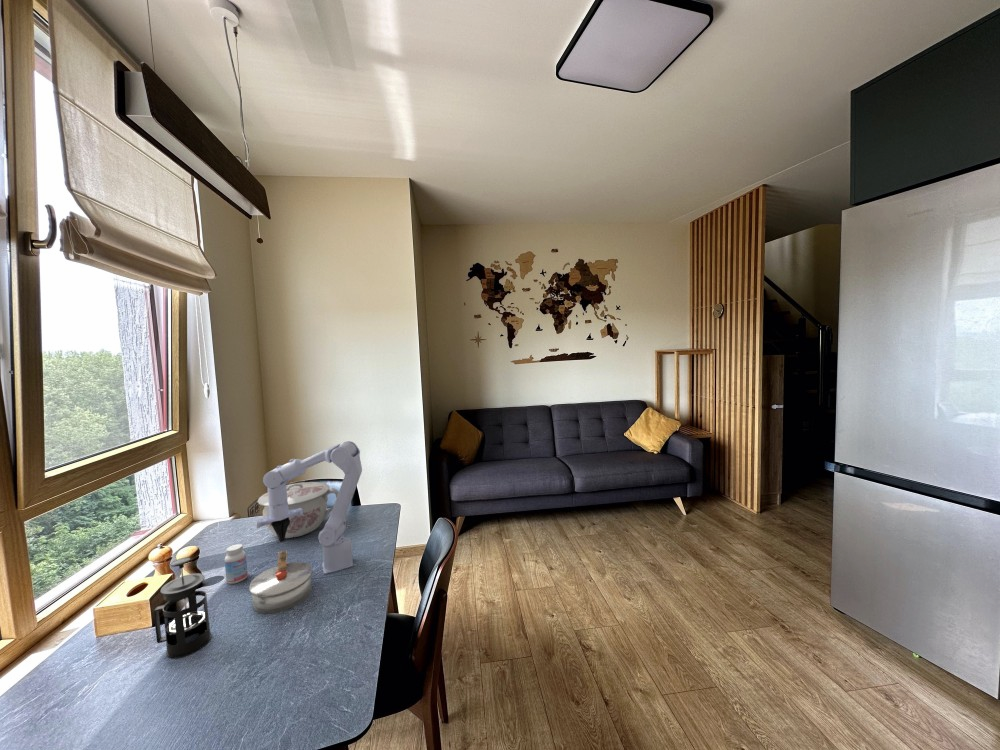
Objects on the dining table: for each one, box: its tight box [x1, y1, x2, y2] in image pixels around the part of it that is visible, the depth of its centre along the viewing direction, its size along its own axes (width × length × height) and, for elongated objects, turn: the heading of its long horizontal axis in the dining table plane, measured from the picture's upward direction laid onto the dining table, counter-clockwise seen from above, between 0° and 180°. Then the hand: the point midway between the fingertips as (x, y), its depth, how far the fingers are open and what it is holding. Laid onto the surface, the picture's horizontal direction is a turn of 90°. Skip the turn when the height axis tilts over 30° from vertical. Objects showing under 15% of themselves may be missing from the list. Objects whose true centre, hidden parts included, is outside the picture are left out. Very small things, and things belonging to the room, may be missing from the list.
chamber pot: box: [257, 481, 339, 539], centre depth 168 cm, size 28×28×21 cm
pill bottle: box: [224, 543, 249, 585], centre depth 133 cm, size 6×6×11 cm
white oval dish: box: [251, 576, 313, 615], centre depth 125 cm, size 16×22×5 cm
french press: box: [153, 556, 212, 659], centre depth 102 cm, size 12×9×23 cm
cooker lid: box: [248, 550, 313, 597], centre depth 124 cm, size 22×17×3 cm
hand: (281, 540), depth 137 cm, fingers closed
